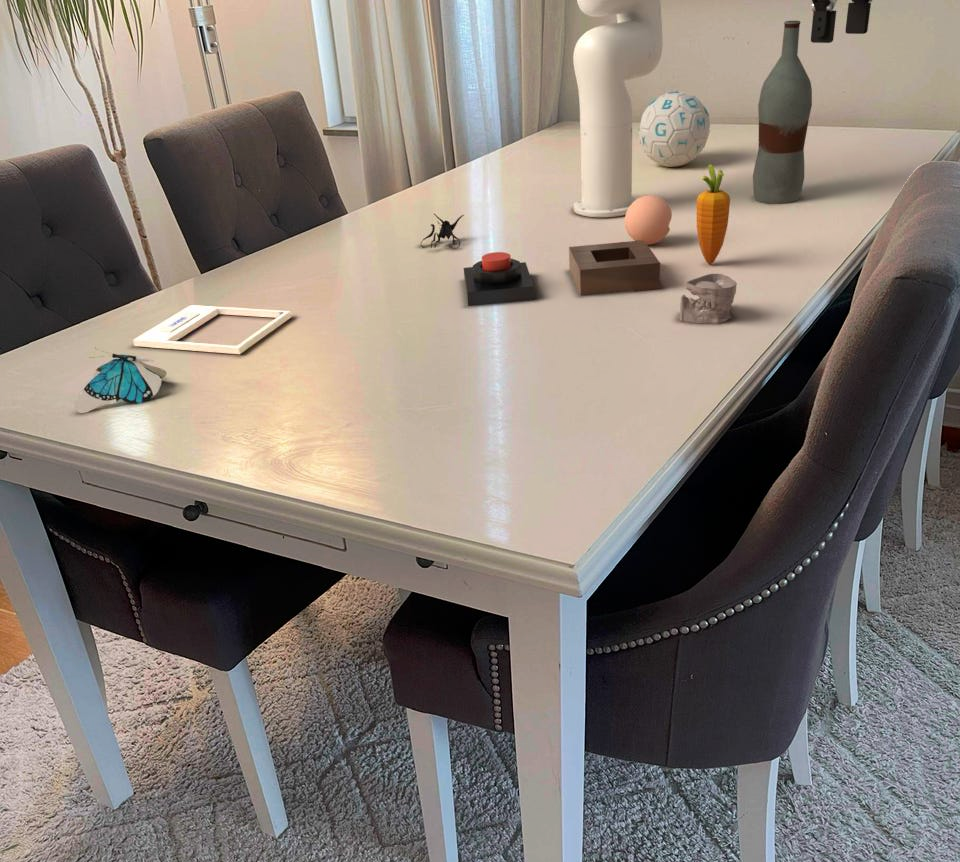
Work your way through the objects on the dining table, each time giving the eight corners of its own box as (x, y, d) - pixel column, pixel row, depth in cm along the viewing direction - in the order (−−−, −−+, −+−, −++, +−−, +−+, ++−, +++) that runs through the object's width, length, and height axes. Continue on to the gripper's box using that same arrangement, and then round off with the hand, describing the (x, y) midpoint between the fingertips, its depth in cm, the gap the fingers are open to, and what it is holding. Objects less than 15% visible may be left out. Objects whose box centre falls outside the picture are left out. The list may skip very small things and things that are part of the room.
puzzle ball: (718, 159, 211) (722, 86, 203) (692, 175, 200) (695, 98, 193) (654, 156, 218) (656, 85, 210) (626, 171, 208) (627, 97, 200)
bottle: (747, 203, 179) (760, 25, 163) (754, 191, 186) (768, 19, 170) (799, 205, 176) (818, 23, 160) (804, 192, 183) (823, 17, 167)
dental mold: (701, 330, 128) (703, 294, 126) (670, 316, 133) (671, 281, 131) (747, 317, 131) (750, 281, 128) (715, 303, 136) (717, 269, 134)
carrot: (726, 269, 148) (732, 169, 140) (693, 269, 149) (698, 170, 141) (725, 259, 152) (732, 162, 144) (694, 259, 153) (698, 163, 145)
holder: (569, 271, 153) (568, 246, 151) (643, 264, 153) (643, 239, 151) (580, 296, 143) (580, 270, 141) (659, 288, 143) (660, 262, 141)
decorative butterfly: (156, 375, 119) (71, 364, 117) (155, 422, 122) (73, 412, 120) (171, 345, 127) (93, 335, 125) (171, 389, 130) (94, 379, 129)
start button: (481, 264, 148) (480, 253, 147) (509, 262, 148) (509, 250, 147) (483, 273, 144) (482, 262, 143) (512, 270, 144) (511, 259, 143)
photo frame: (190, 303, 150) (290, 309, 144) (192, 310, 150) (291, 316, 144) (132, 338, 138) (238, 346, 132) (134, 345, 139) (239, 354, 133)
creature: (454, 258, 167) (472, 235, 172) (449, 230, 164) (467, 208, 169) (415, 255, 170) (434, 233, 175) (409, 228, 167) (428, 206, 172)
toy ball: (680, 241, 163) (682, 193, 158) (654, 253, 158) (655, 204, 154) (641, 234, 167) (642, 188, 163) (615, 246, 163) (615, 199, 159)
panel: (464, 281, 153) (462, 256, 151) (526, 275, 153) (525, 250, 151) (468, 306, 143) (465, 280, 141) (534, 300, 143) (533, 274, 141)
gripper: (860, -104, 136) (845, 30, 145) (795, -98, 126) (783, 45, 135) (912, -109, 131) (892, 30, 140) (848, -102, 121) (832, 46, 130)
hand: (839, 37), depth 138 cm, fingers open, 9 cm apart
